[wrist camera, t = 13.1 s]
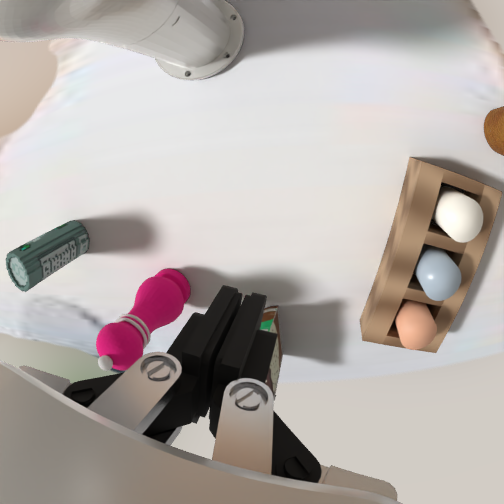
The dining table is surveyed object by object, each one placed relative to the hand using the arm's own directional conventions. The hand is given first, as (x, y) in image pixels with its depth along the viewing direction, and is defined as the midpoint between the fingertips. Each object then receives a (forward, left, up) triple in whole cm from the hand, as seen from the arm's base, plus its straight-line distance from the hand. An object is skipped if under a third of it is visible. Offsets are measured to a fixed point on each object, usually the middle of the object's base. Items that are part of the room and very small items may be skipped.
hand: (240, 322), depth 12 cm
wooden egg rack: (+5, +19, -29) cm, 35 cm away
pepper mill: (+19, -16, -29) cm, 38 cm away
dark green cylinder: (+15, -36, -29) cm, 49 cm away
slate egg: (+5, +19, -28) cm, 34 cm away
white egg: (-3, +19, -28) cm, 34 cm away
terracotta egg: (+12, +19, -28) cm, 36 cm away
